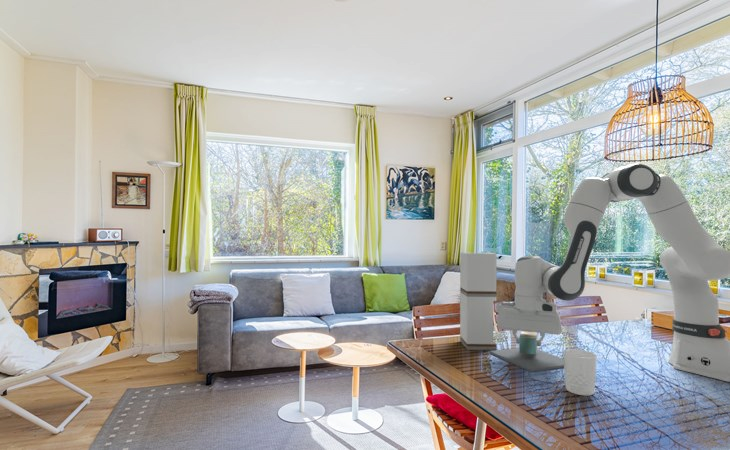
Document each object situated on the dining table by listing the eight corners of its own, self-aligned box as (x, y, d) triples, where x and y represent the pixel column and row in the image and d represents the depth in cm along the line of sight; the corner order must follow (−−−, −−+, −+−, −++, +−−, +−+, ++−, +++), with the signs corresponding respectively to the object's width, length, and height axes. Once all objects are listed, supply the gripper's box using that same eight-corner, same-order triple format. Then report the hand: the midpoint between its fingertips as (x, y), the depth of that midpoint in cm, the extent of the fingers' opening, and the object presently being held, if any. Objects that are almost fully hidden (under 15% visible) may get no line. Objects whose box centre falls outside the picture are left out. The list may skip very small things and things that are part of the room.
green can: (537, 331, 139) (535, 339, 128) (537, 345, 139) (535, 354, 128) (522, 329, 141) (519, 337, 131) (522, 343, 141) (519, 352, 130)
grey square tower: (496, 350, 143) (496, 253, 144) (467, 349, 144) (467, 253, 145) (487, 341, 155) (487, 252, 156) (460, 341, 155) (460, 252, 156)
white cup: (567, 383, 111) (567, 347, 112) (599, 390, 106) (599, 352, 107) (560, 391, 105) (559, 353, 105) (593, 399, 100) (593, 359, 100)
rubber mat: (576, 366, 126) (576, 363, 126) (530, 371, 120) (530, 369, 120) (531, 349, 145) (531, 346, 145) (489, 353, 139) (489, 351, 139)
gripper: (495, 302, 136) (495, 342, 135) (561, 307, 127) (561, 351, 126) (497, 299, 141) (497, 338, 141) (561, 304, 132) (561, 346, 132)
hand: (528, 344), depth 134 cm, fingers closed on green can, 5 cm apart
